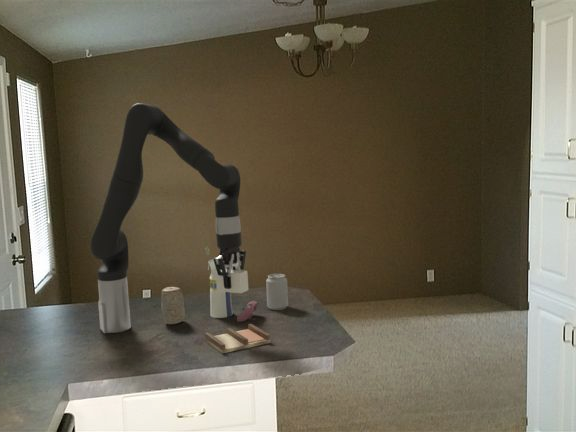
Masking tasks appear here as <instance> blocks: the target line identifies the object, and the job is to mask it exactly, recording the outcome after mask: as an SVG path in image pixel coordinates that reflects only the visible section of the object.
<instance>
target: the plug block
mask: <svg viewBox="0 0 576 432" xmlns="http://www.w3.org/2000/svg"><path fill="white" fill-rule="evenodd" d="M221 272H222V270H221ZM226 272H227V269H226ZM230 277H231V288H230V289H225V288H224V282H223V276H219V275H218V273H217V272H216V285H217V291H222V292H231V294H232V293H234V294H242V293H245V292H247V291H249V276H248V270H232V269H231V274H230Z"/></svg>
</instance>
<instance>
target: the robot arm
mask: <svg viewBox="0 0 576 432" xmlns="http://www.w3.org/2000/svg"><path fill="white" fill-rule="evenodd" d="M148 135H152V136H154V137H156V138H158V139H160V140H162V141H164V142H165V143H167V145H169V146H170V147H171V148H172V150H173V151H174V152H175V154H177V155H178V157H179V158H180V159H181V160H183V161H184V162H185V164H187V165H189V166H190V167H192V169H194V170H196V171H197V172H198V173H199V174H200V176H201V177H202V178H203V179H204V181H206V182H207V183H208V184H209V185H210V186H211V187H213V188H215V189H218V190H219V195H218V197H217V198H216V199H215V201H214V211H215V212H214V213H215V234H216V235H215V237H216V238H215V239H216V247H217V248H218V249H219V256H217V257H213V259H214V263H215V267H216V270H217V273H218V275H219V276H223V282H224V288H225V289H230V288H231V277H230V274H231V270H242V271H244V269H245V262H246V254H247V253H246V252H247V251H246V250H245V249H244V250H242V249H241V248H240V247H241V246H242V243H243V241H242V228H241V227H242V226H241V220H240V207H239V198H240V197H239V196H240V191H241V190H240V189H241V175H240V171H239V169H238V168H237V167H236V166H235V165H234V164H222V163H220V162H218V161H217V160H216V159H215V155H214V154H213V152H211V151H210V150H208V148H206V147H205V146H203V145H202V144H200V143H199V142H198V141H197V140H195V139H194V138H192V137H191V136H190V135H188V134H187V133H186V132H184V130H182V129H181V128H179V126H178V125H176V123H175V122H174V121H172V120H171V119H170V118H169V116H168V115H167V114H166V113H165V112H164V111H163V110H162V109H160V107H158V106H156V105H154V104H148V103H141V102H140V103H139V102H137V103H134V104H133V105H132V106H131V107H130V108H129V109H128V111H127V114H126V117H125V122H124V129H123V135H122V139H121V144H120V148H119V151H118V156H117V158H116V162H115V166H114V168H113V171H112V174H111V179H110V182H109V187H108V188H107V189H108V190H107V192H106V193H107V194H106V197H105V200H104V203H103V207H102V211H101V214H100V216H99V220H98V222H97V225H96V227H95V229H94V231H93V234H92V236H91V240H90V250H91V254H92V255H93V256H94V257H95V258H96V259H98V260H100V261H101V260H102V261H101V264H100V266H99V268H98V270H97V273H96V275H97V277H96V278H97V286H98V301H97V304H98V315H99V316H98V317H99V328H100V330H101V332H102V333H103V334H114V333H115V334H116V333H122V332H126V331H127V330H129V329H131V327H132V325H131V311H130V297H129V286H128V285H129V284H128V283H129V282H128V269H129V244H128V243H129V242H128V238H127V235H126V234H125V233H124V231H123V230H121V227H122V224H123V222H124V220H125V218H126V217H127V214H128V213H129V212H130V210H131V209H132V207H133V206H134V204H135V202H136V200H137V198H138V195H139V194H140V189H141V187H142V183H143V179H144V168H143V167H144V166H143V148H144V145H145V141H146V138H147V137H148ZM225 265H229V266H225ZM220 269H221V270H222V272H221V270H220ZM226 269H227V272H226Z"/></svg>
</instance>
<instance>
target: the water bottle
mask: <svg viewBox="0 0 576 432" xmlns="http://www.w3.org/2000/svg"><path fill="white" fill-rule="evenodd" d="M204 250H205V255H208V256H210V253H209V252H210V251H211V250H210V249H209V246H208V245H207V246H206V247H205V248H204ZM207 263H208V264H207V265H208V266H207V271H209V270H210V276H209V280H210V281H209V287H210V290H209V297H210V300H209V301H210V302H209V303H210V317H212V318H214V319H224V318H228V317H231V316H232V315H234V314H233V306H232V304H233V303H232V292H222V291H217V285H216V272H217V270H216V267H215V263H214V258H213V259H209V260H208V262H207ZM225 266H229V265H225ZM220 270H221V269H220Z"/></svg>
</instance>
